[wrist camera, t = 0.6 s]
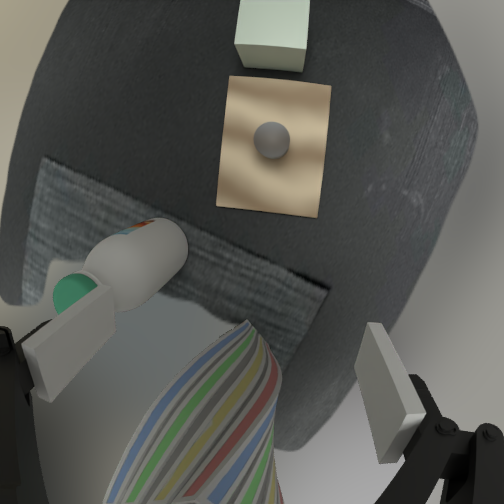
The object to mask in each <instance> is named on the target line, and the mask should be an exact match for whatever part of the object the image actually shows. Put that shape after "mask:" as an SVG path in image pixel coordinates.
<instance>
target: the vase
mask: <svg viewBox="0 0 504 504" xmlns="http://www.w3.org/2000/svg"><path fill="white" fill-rule="evenodd" d="M251 325H252V324H251V323H250V322H249V321H248V320H245V321H244V322H242V323H241V324H239V325H237V326H236V327H234V329H233V330H232V329H231V330H230V331H228V332H226V334H223V335H222V336H220V337H219V339H218V340H216V341H215V342H214V343H212V344H211V345H210V346H208V347H207V348H206V349H205V350H203V351H202V352H201V353H200V354H199V355H197V356H196V357H195V358H194V359H192V361H191V362H189V363H188V364H187V365H186V366H185V367H184V368H183V369H182V370H181V371H180V372H179V373H178V374H177V375H176V376H175V377H174V378H173V379H172V380H171V382H170V383H169V384H168V385H167V386H166V387H165V388H164V389H163V390H162V392H161V393H160V394H159V396H158V397H157V398H156V400H155V401H154V402H153V404H152V405H151V406H150V408H149V409H148V410H147V412H146V414H145V415H144V417H143V419H142V421H141V422H140V424H139V426H138V428H137V429H136V431H135V433H134V434H133V436H132V438H131V440H130V442H129V444H128V446H127V448H126V450H125V452H124V453H123V456H122V458H121V460H120V462H119V464H118V467H117V469H116V471H115V473H114V475H113V478H112V480H111V482H110V484H109V487H108V489H107V492H106V495H105V497H104V500H103V503H102V504H284V501H283V497H282V493H281V490H280V486H279V483H278V479H277V474H276V467H275V460H274V447H273V437H274V418H275V410H276V405H277V399H278V394H279V391H280V388H281V383H282V371H281V368H280V365H279V364H278V362H277V360H276V358H275V357H274V355H273V353H272V352H271V350H270V347H269V344H268V343H267V342H266V341H265V340H264V339H263V337H262V336H261V335H260V334H258V333H257V330H256V329H255V328H254V327H253V326H251Z"/></svg>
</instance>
